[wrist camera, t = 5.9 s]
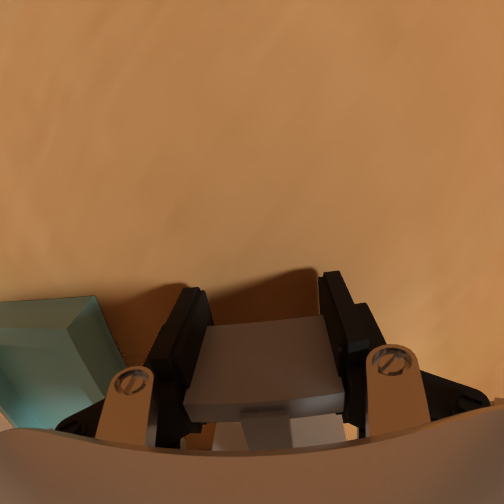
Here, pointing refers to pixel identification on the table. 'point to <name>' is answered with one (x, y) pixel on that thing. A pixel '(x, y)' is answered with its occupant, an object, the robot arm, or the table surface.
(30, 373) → the tray
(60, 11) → the table surface
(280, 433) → the t-handle cube
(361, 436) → the robot arm
